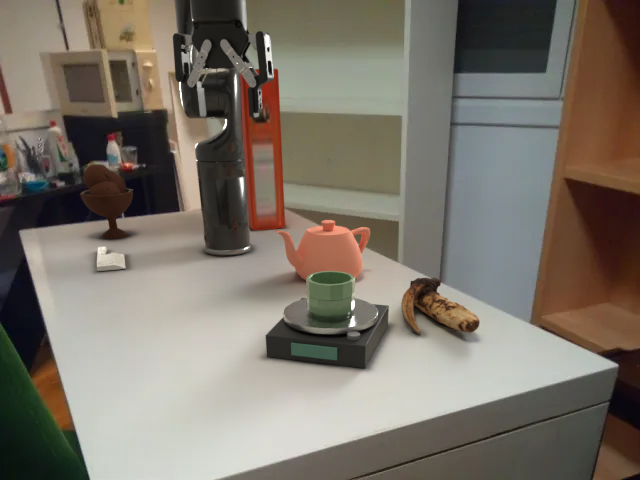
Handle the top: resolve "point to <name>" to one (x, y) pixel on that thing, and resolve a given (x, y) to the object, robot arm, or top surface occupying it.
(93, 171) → the ice cream bowl
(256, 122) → the file binder
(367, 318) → the scale pan
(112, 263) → the white slab with peg
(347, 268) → the teapot
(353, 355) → the scale
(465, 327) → the partly peeled banana
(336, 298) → the green cup
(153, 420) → the top surface
